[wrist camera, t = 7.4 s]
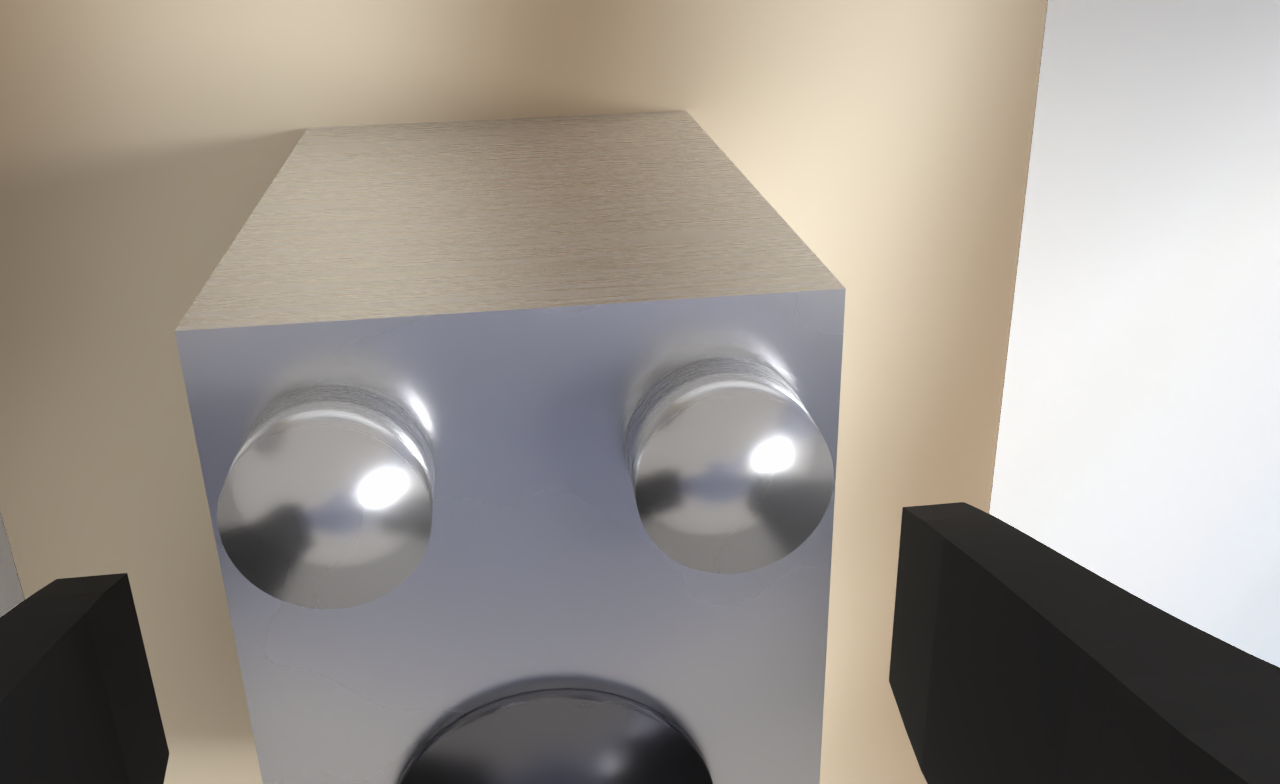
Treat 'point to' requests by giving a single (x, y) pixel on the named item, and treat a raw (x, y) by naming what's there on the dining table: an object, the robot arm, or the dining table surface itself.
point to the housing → (522, 458)
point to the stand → (483, 90)
